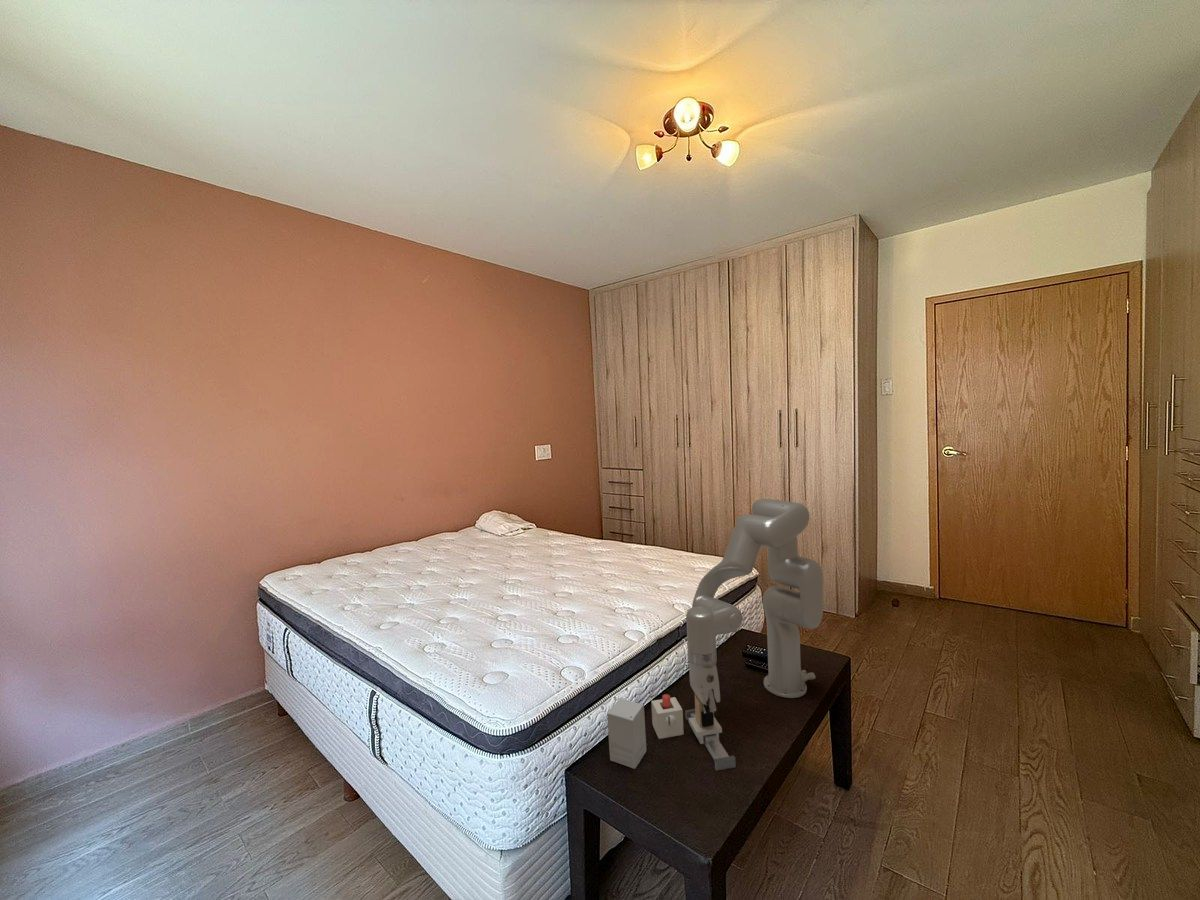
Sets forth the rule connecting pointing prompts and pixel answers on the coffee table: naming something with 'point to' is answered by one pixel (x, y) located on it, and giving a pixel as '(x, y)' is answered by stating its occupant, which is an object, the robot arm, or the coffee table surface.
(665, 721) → the white cube box
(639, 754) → the supplement box
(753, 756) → the coffee table surface
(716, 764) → the rail
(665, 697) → the button
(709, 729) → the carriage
